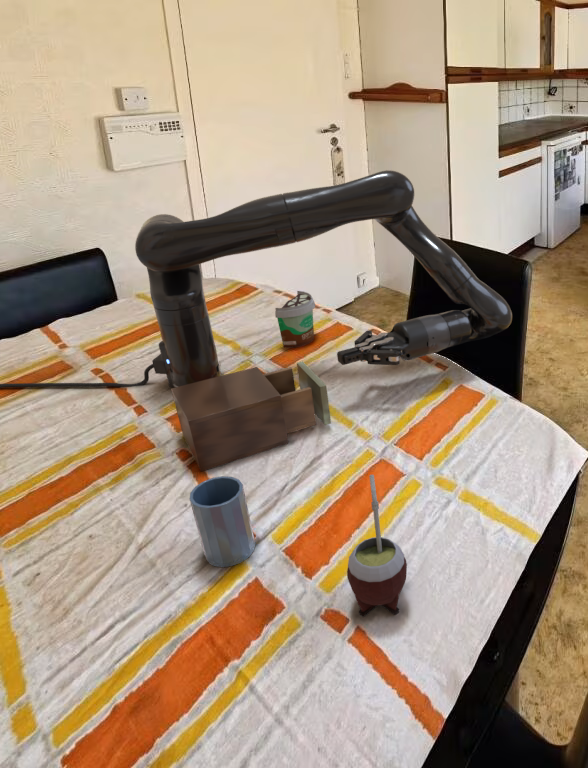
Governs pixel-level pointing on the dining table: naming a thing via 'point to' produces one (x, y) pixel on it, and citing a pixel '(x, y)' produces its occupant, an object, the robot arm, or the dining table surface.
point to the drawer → (301, 397)
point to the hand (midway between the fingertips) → (339, 358)
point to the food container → (296, 320)
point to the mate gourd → (377, 569)
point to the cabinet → (230, 417)
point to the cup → (223, 521)
